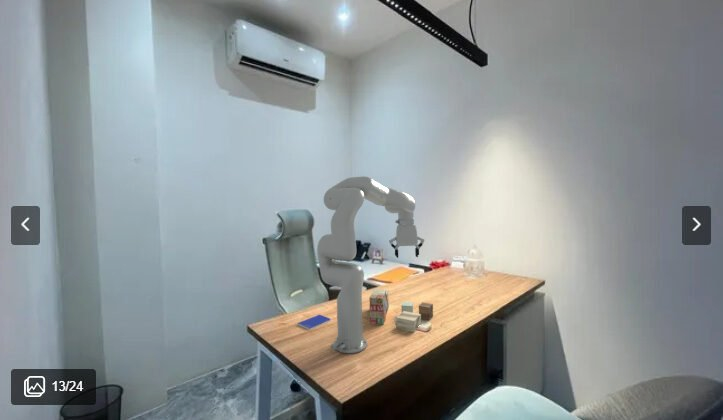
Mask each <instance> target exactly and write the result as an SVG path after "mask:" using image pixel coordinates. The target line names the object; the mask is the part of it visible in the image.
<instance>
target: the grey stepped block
mask: <svg viewBox="0 0 723 420" xmlns="http://www.w3.org/2000/svg"><path fill="white" fill-rule="evenodd" d="M420 324H421V325H422V319H421V314H419V313H417V312H416V313H415V312H413V313H411V312H406V311H403V312H402V311H401V313H400V314H399V315H398V316H397V317H396V329H398V330H403V331H407V332H412V333H415V332H417V330H418V329H419V328H418V326H419V325H420ZM417 328H418V329H417Z"/></svg>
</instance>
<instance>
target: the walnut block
mask: <svg viewBox="0 0 723 420" xmlns="http://www.w3.org/2000/svg"><path fill="white" fill-rule="evenodd" d="M418 314H421V320H426V321H430V320H432V318H434V304H433V303H428V302H423V301H422V302H421V303H420V304H419V305H418Z"/></svg>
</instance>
